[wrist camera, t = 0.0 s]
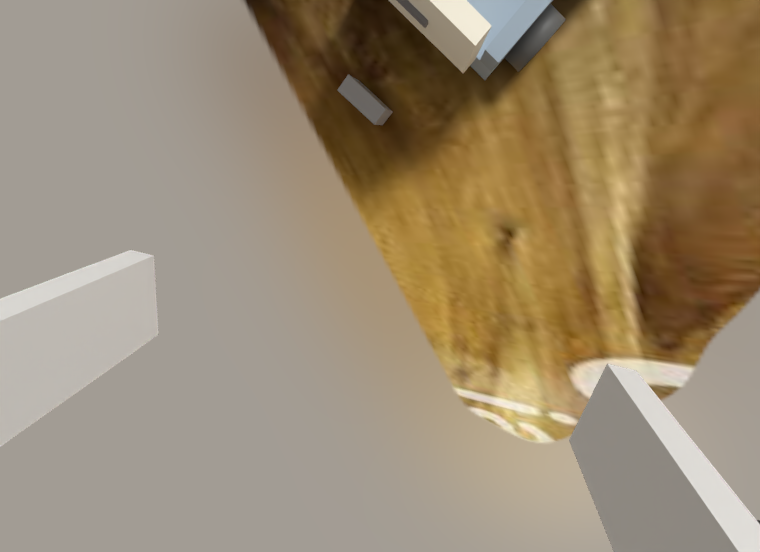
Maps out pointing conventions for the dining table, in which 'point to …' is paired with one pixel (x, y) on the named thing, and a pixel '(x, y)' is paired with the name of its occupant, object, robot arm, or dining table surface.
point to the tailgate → (448, 27)
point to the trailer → (504, 40)
